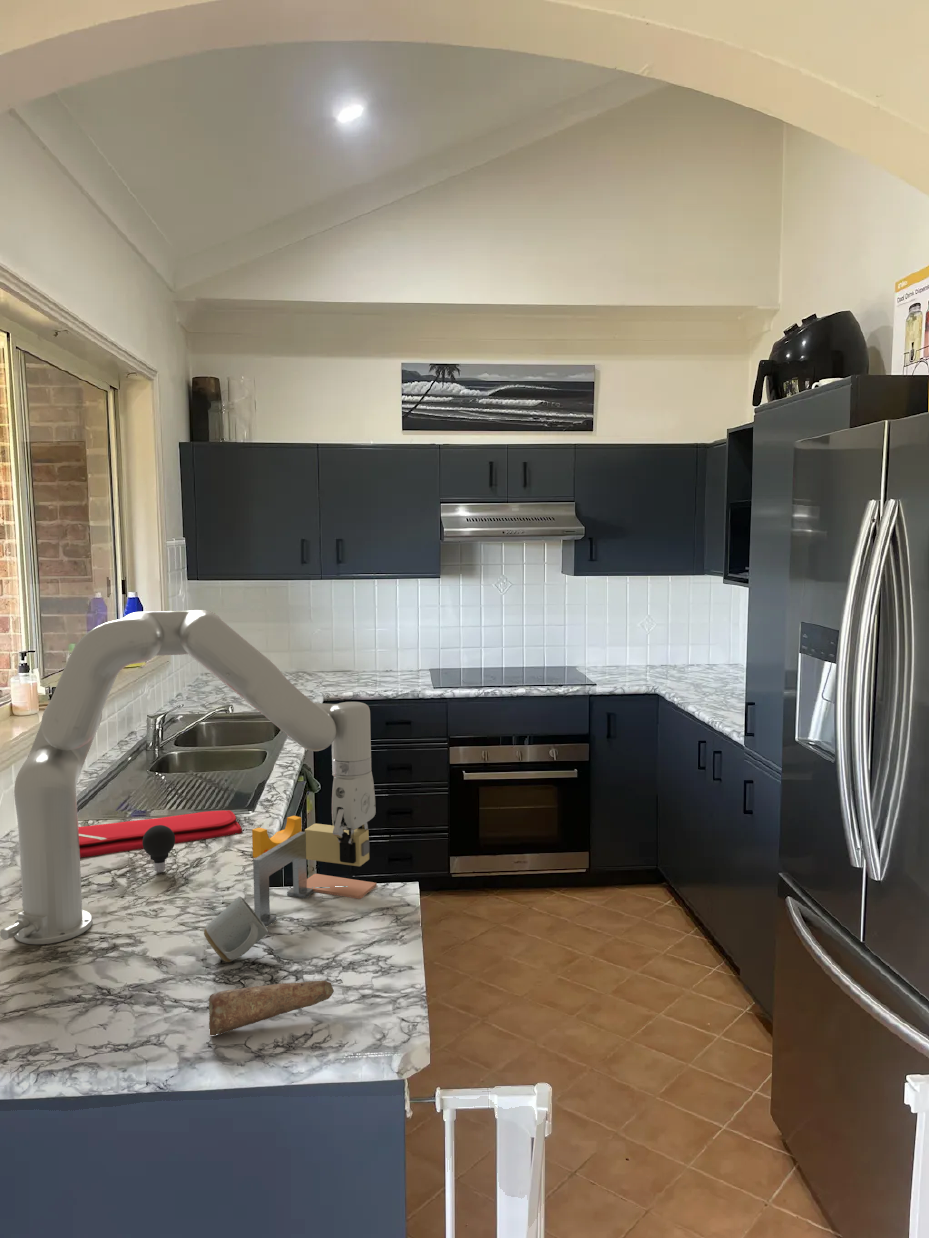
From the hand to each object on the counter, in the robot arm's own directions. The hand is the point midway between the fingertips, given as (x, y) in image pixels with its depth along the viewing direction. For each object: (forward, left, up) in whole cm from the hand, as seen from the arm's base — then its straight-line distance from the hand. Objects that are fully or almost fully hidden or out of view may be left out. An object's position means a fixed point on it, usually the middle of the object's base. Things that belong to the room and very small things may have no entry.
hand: (353, 856), depth 174 cm
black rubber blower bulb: (-6, +42, -7) cm, 43 cm away
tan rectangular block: (0, +4, -1) cm, 4 cm away
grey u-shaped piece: (-12, +9, -7) cm, 16 cm away
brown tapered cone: (-46, -11, -7) cm, 48 cm away
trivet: (0, +4, -7) cm, 8 cm away
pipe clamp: (+14, +27, -7) cm, 31 cm away
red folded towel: (+11, +59, -7) cm, 61 cm away
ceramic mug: (-33, +4, -7) cm, 34 cm away
